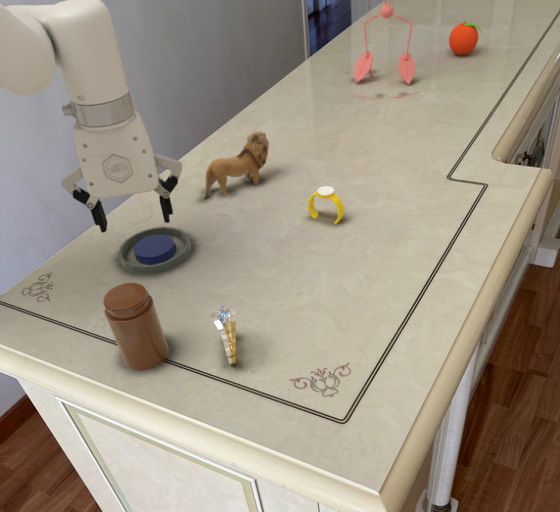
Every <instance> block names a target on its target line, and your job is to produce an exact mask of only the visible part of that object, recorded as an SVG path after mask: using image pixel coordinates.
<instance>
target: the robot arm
mask: <svg viewBox="0 0 560 512" xmlns="http://www.w3.org/2000/svg"><path fill="white" fill-rule="evenodd" d="M56 67H58V68H60V71H61V73H62V76H63V78H64V82H65V85H66V88H67V91H68V92H67V93H68V95H69V99H70V102H67V104H63V105H61V108H62V109H61V110H62V114H63V116H64V117H67V116H70V117H73V118H74V119H75V122H74V125H73V138H74V142H75V147H76V153H77V156H78V161H79V165H78V166H76V167H75V168H74V169H72V170H71V171H70V172H68V173H67V174H66V175H65V176H63V177H62V179H61V182H60V183H61V184H60V185H61V186H62V188H64V189H65V190H66V192H68V193H69V194H70V195H71V196H72V198H73V199H74V200H76V201H77V202H79V203H81V204H83V205H84V206H85V207H86V208H87V210H89V211H90V213H91V216H92V219H93V222H94V225H95V226H99V229H100V232H101V233H106V232H107V230H108V229H107V228H108V219H107V215H106V213H105V210H104V207H103V204H102V201H101V200H100V199H108V198H109V199H111V198H117V197H124V196H130V195H131V196H132V195H137V194H143V193H148V192H152V191H154V192H155V193H157V194H158V196H159V198H158V199H159V203H160V209H161V213H162V217H163V221H164V223H166V224H170V222H171V221H170V218H171V217H170V216H171V215H174V210H173V205H172V200H171V197H170V196H171V193H173V191H174V190H175V188H176V186H178V184H179V180H180V177H181V174H182V170H183V163H182V161H181V160H178V159H176V158H171V157H168V156H166V155H162V154H159V153H156V152H154V150H153V145H152V142H151V139H150V136H149V133H148V131H147V128H146V125H145V122H144V121H143V119H142V117H141V115H140V113H139V111H137V110H134V105H133V102H132V98H131V94H130V90H129V86H128V82H127V78H126V74H125V69H124V66H123V61H122V58H121V53H120V50H119V45H118V41H117V37H116V33H115V29H114V25H113V20H112V17H111V13H110V11H109V8H108V7H107V5H106V4H105V3H104V2H103V1H102V0H63V1H60V2H57V3H54V4H11V5H6V6H4V5H3V4H2V3H0V88H1V89H2V90H4V91H6V92H9V93H11V94H14V95H18V96H34V95H36V94H41V93H42V92H43V91H44V90H46V89H47V88H48V87H49V86H50V84H51V82H52V81H53V79H54V76H55V72H56ZM158 167H160V168H163V169H166V170H169V171H170V174H169V176H168V177H167V178H166V179H163V178H162V177H161V176H159V168H158ZM82 178H83V181H84V183H85V187H86V189H87V191H86V190H85V189H83V188H81V187H79V186H78V185H77V182H78V181H80V180H81V179H82Z"/></svg>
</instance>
